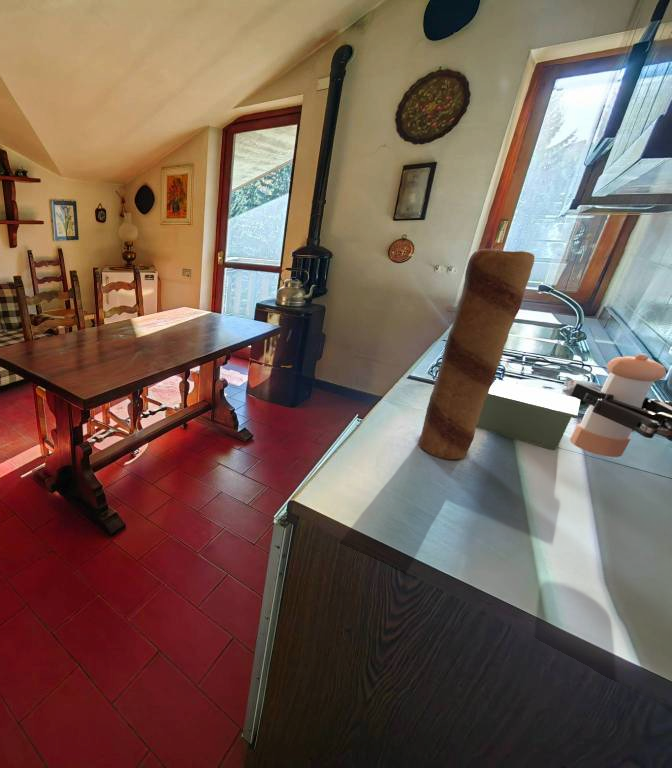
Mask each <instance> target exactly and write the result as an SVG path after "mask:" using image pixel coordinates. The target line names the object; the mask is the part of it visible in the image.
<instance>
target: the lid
mask: <svg viewBox="0 0 672 768" xmlns="http://www.w3.org/2000/svg"><path fill="white" fill-rule="evenodd" d="M487 396H489V397H493V398H497V399H501V400H505V401H509V402H513V403H517V404H521V405H524V406H528V407H532V408H536V409H540V410H544V411H548V412H552V413H556V414H560V415H564V416H568V417H571V419H577V418H578V415H579V412H580V411H579V410H580V406H581V401H582V400H579V399H577V398H575V397H572V396H569V395H567V394H562V393H557V392H554V391H548V390H545V389H539V388H535V387H532V386H526V385H523V384H518V383H515V382H514V383H513V382H509V381H504V380H501V379H495V380H494V381H493V383H492V385H491V387H490V390H489V393H488V395H487Z"/></svg>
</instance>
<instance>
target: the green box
mask: <svg viewBox="0 0 672 768" xmlns="http://www.w3.org/2000/svg"><path fill="white" fill-rule="evenodd" d="M571 419H572V417H568V416H564V415H560V414H556V413H552V412H548V411H544V410H540V409H536V408H532V407H528V406H524V405H521V404H517V403H513V402H509V401H505V400H501V399H497V398H493V397H489V396H487V397H486V399H485V401H484V404H483V407H482V410H481V413H480V415H479V420H478V423H477V426H476V429H477V428H478V429H481V430H483V431H487V432H490V433H494V434H497V435H500V436H504V437H507V438H511V439H513V440H517V441H520V442H523V443H527V444H531V445H534V446H537V447H540V448H544V449H547V450H551V451H554V452H556V451H557V448H558V446H559V444H560V442H561V440H562V438H563V436H564V434H565V432H566V429H567V428H568V426H569V423H570V421H571Z"/></svg>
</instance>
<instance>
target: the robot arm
mask: <svg viewBox="0 0 672 768" xmlns="http://www.w3.org/2000/svg"><path fill="white" fill-rule="evenodd" d="M666 384H667V385H666V386H667V388H668V390H670V391H671V392H672V368H671V369H670V371H669V373H668V376H667V382H666ZM572 396H573V397H575V398H577V399H579V400H581V401H582V402H583V403H586V404H588V405H589V406H590V405H593V406H595V407H594V409H593V411H592V412H594V413H596V414H599V415H601V416H603V417H605V418H608V419H610V420H612V421H614V422H616V423H619V424H621V425H623V426H625V427H628V428H630V429H632V431H634V432H635V433H637V434H639V435H640V436H642V437H644V438H647V439H653V437H654V436H655V435H658V436H661V437H663V438H665V439H667V440H668V441H670V442H672V401H671V400H666V401H665V402H663V401H661V400H660V399H655V398H654V399H650V397H647V396H646V398H645V399H644V401H643V404H642V408H638V407H635V406H632V405H629V404H626V403H623V402H620V401H617V400H614V399H613V398H614V397H613V396H614V395H611V394H605V393H603V392H600V391H598V390H595V389H593V388H590V387H588V386H585V385H583V384H580V383H577V384H576V386H575V388H574V390H573V392H572V395H571V397H572Z"/></svg>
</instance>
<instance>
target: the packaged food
mask: <svg viewBox="0 0 672 768" xmlns="http://www.w3.org/2000/svg"><path fill="white" fill-rule="evenodd" d="M577 383H580V384H583V385H585V386H588V387H590V388H593V389H595V390H598V391H601V389H602V387H603V385H601V384H599V383H596V382H592V381H588V380H569V381H565V382H563V384H564V385H565V386H566V389H563V390H562V392H563V393H564V394H565V395H566V396H571V395H572V392H573V390H574V388H575V386H576V384H577ZM571 397H573V396H571Z"/></svg>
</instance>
